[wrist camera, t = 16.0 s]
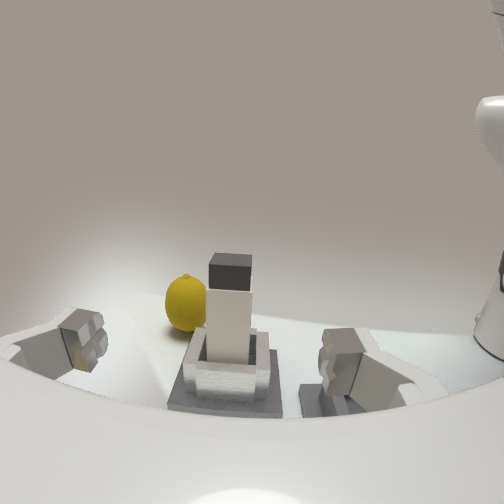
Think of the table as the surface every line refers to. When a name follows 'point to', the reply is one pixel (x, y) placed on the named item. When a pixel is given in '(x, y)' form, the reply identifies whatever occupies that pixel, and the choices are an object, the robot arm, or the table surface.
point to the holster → (325, 403)
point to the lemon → (186, 303)
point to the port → (228, 382)
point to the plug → (229, 308)
